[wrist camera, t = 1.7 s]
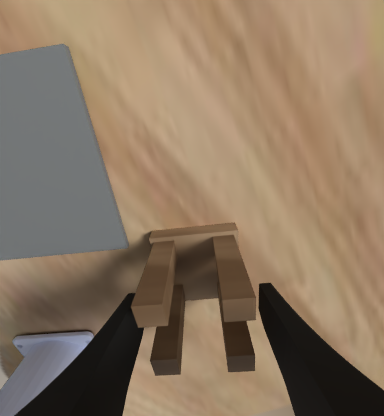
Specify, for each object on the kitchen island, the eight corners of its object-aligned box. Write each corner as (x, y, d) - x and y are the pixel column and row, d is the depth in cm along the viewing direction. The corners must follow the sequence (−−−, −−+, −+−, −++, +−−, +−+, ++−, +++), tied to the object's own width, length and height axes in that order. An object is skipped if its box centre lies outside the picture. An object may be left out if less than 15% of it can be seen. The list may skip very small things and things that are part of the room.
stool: (237, 284, 16) (260, 373, 10) (166, 290, 16) (151, 378, 10) (234, 221, 13) (263, 291, 8) (152, 229, 14) (122, 302, 8)
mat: (129, 245, 14) (127, 248, 14) (-17, 259, 15) (-23, 262, 15) (68, 46, 9) (63, 43, 9) (-141, 82, 10) (-153, 80, 10)
